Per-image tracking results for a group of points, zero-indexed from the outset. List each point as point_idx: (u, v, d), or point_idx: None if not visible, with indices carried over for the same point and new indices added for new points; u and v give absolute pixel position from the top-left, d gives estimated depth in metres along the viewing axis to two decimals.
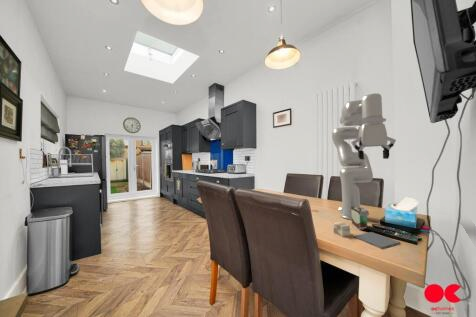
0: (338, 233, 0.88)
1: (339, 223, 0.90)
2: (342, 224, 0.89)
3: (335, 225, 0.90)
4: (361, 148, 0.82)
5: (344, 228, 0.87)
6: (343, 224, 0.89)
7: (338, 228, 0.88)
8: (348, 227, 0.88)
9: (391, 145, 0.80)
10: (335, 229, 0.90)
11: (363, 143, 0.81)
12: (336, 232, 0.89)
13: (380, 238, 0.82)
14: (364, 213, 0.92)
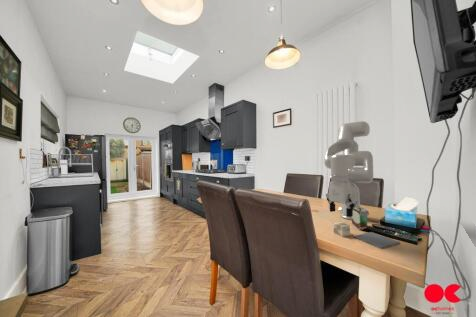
0: (338, 233, 0.88)
1: (339, 223, 0.90)
2: (342, 224, 0.89)
3: (335, 225, 0.90)
4: None
5: (344, 228, 0.87)
6: (343, 224, 0.89)
7: (338, 228, 0.88)
8: (348, 227, 0.88)
9: None
10: (335, 229, 0.90)
11: None
12: (336, 232, 0.89)
13: (380, 238, 0.82)
14: (364, 213, 0.92)
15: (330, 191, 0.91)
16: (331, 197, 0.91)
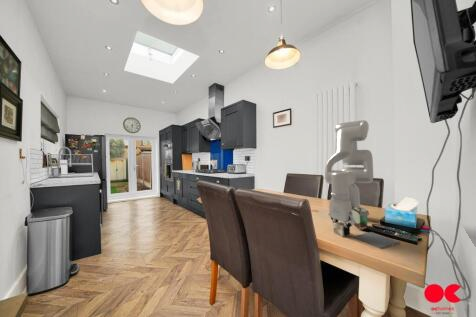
0: (338, 233, 0.88)
1: (339, 223, 0.90)
2: (342, 224, 0.89)
3: (335, 225, 0.90)
4: None
5: None
6: (343, 223, 0.89)
7: (338, 227, 0.88)
8: None
9: None
10: (335, 229, 0.90)
11: None
12: (336, 232, 0.89)
13: (380, 238, 0.82)
14: (364, 213, 0.92)
15: (331, 208, 0.92)
16: (332, 214, 0.91)
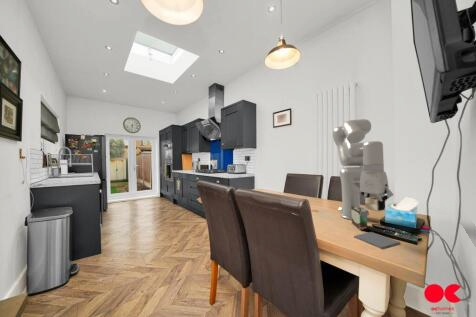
0: (371, 208, 0.80)
1: (371, 198, 0.83)
2: (375, 198, 0.81)
3: (367, 200, 0.82)
4: None
5: None
6: (376, 198, 0.82)
7: (372, 202, 0.80)
8: None
9: None
10: (367, 204, 0.82)
11: None
12: (369, 207, 0.82)
13: (380, 238, 0.82)
14: (364, 213, 0.92)
15: (362, 182, 0.84)
16: (363, 188, 0.83)
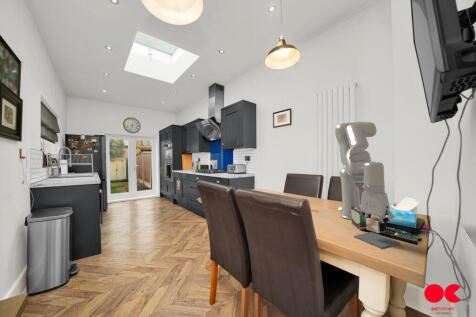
0: (372, 229, 0.80)
1: (372, 218, 0.82)
2: (376, 219, 0.81)
3: (368, 220, 0.82)
4: None
5: None
6: (377, 219, 0.81)
7: (373, 223, 0.80)
8: None
9: None
10: (368, 225, 0.82)
11: None
12: (370, 228, 0.81)
13: (380, 238, 0.82)
14: None
15: (363, 202, 0.84)
16: (364, 208, 0.83)
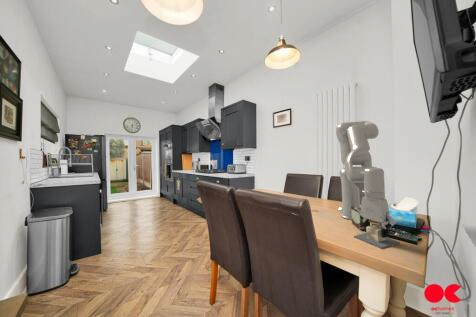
0: (372, 238, 0.80)
1: (373, 227, 0.83)
2: (377, 228, 0.81)
3: (368, 229, 0.82)
4: None
5: (379, 232, 0.79)
6: (377, 227, 0.82)
7: (373, 232, 0.80)
8: None
9: None
10: (368, 233, 0.82)
11: None
12: (370, 236, 0.82)
13: None
14: None
15: (363, 207, 0.84)
16: (364, 214, 0.83)
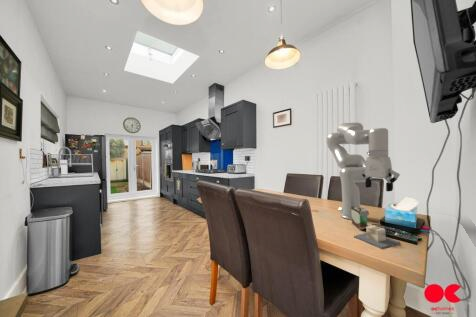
0: (372, 238, 0.80)
1: (373, 227, 0.83)
2: (377, 228, 0.81)
3: (368, 229, 0.82)
4: None
5: (379, 232, 0.79)
6: (377, 227, 0.82)
7: (373, 232, 0.80)
8: (384, 231, 0.80)
9: None
10: (368, 233, 0.82)
11: None
12: (370, 236, 0.82)
13: None
14: (364, 213, 0.92)
15: (367, 166, 0.89)
16: (368, 173, 0.89)
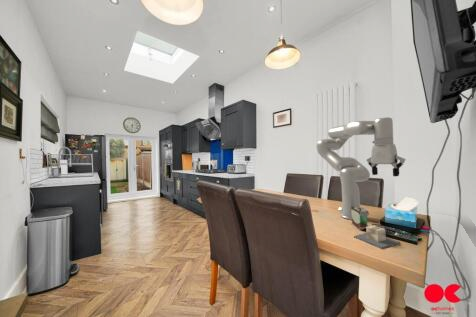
0: (372, 238, 0.80)
1: (373, 227, 0.83)
2: (377, 228, 0.81)
3: (368, 229, 0.82)
4: None
5: (379, 232, 0.79)
6: (377, 227, 0.82)
7: (373, 232, 0.80)
8: (384, 231, 0.80)
9: None
10: (368, 233, 0.82)
11: None
12: (370, 236, 0.82)
13: None
14: (364, 213, 0.92)
15: (373, 154, 0.94)
16: (375, 160, 0.93)
